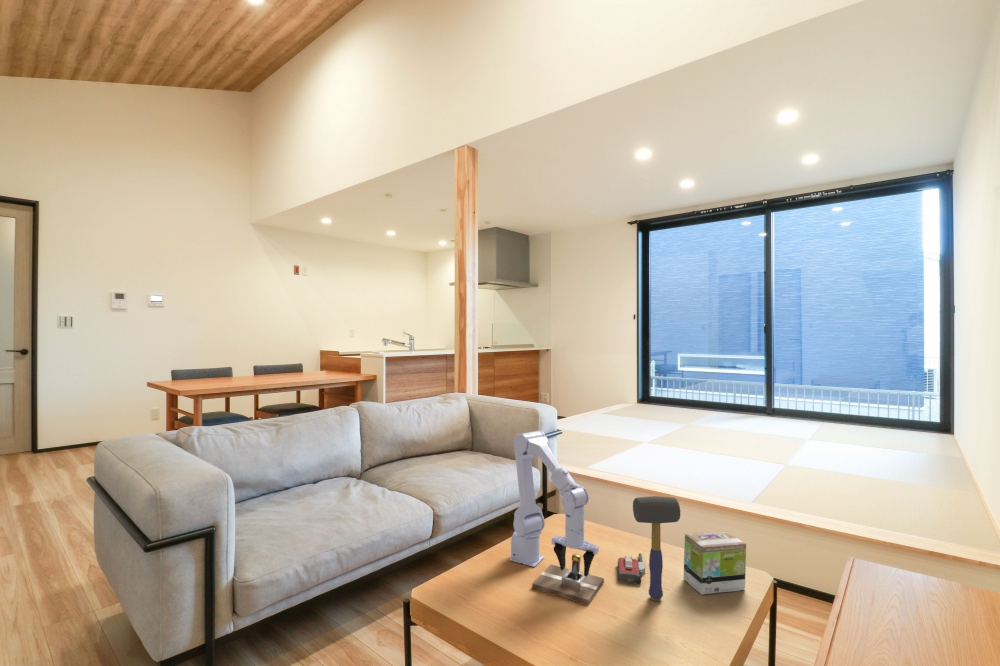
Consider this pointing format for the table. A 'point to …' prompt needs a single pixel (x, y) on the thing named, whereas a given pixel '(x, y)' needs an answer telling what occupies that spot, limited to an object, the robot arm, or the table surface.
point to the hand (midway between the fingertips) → (574, 571)
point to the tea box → (714, 562)
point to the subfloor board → (553, 584)
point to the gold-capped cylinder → (575, 566)
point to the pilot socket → (574, 583)
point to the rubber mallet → (656, 533)
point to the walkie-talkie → (631, 569)
